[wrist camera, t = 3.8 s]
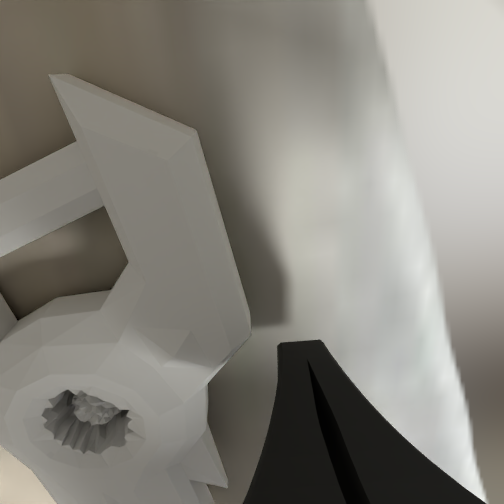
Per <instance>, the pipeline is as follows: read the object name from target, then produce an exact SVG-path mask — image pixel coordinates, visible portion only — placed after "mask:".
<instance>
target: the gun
mask: <svg viewBox="0 0 504 504" xmlns="http://www.w3.org/2000/svg"><path fill="white" fill-rule="evenodd" d="M48 76H49V78H50V80H51V83H52V85H53V87H54V90H55V92H56V94H57V97H58V99H59V101H60V104H61V106H62V108H63V111H64V113H65V115H66V118H67V120H68V122H69V125H70V127H71V129H72V131H73V134H74V136H75V138H76V142H74V143H72V144H70V145H68V146H66V147H64V148H62V149H60V150H58V151H56V152H54V153H52V154H50V155H48V156H46V157H44V158H42V159H40V160H38V161H36V162H34V163H32V164H30V165H28V166H26V167H24V168H22V169H20V170H18V171H16V172H14V173H12V174H10V175H8V176H6V177H4V178H3V179H1V180H0V257H2V256H4V255H6V254H8V253H10V252H12V251H14V250H16V249H18V248H20V247H22V246H24V245H26V244H28V243H30V242H32V241H34V240H36V239H38V238H40V237H42V236H44V235H46V234H48V233H50V232H52V231H54V230H56V229H58V228H60V227H62V226H64V225H66V224H69V223H71V222H73V221H75V220H77V219H79V218H81V217H83V216H85V215H87V214H89V213H91V212H93V211H95V210H97V209H99V208H101V207H103V206H105V208H106V210H107V213H108V215H109V217H110V220H111V222H112V224H113V227H114V229H115V231H116V234H117V236H118V238H119V241H120V243H121V245H122V248H123V250H124V252H125V255H126V257H127V259H128V261H129V262H128V264H127V265H126V267H125V268H124V270H123V272H122V273H121V275H120V277H119V278H118V280H117V281H116V283H115V285H114V286H113V288H112V289H111V290H107V291H100V292H93V293H86V294H78V295H71V296H64V297H57V298H55V299H53V300H52V301H50V302H48V303H47V304H45V305H43V306H42V307H40V308H38V309H37V310H35V311H34V312H32V313H30V314H29V315H27V316H25V317H24V318H22V319H20V320H19V321H17V319H16V318H15V316H14V314H13V313H12V311H11V309H10V308H9V306H8V305H7V303H6V301H5V300H4V298H3V297H2V295H1V293H0V446H2V447H3V448H4V449H5V450H7V451H8V452H9V453H11V454H12V455H13V456H14V457H16V458H17V459H18V460H19V461H21V462H22V463H23V464H24V465H26V466H27V467H28V468H29V469H31V470H32V471H33V473H34V474H35V475H36V476H37V478H38V479H39V480H40V482H41V483H42V484H43V486H44V487H45V488H46V490H47V491H48V492H49V494H50V495H51V496H52V498H53V499H54V500H55V501H56V503H57V504H215V502H214V500H213V497H212V495H211V493H210V491H209V489H208V487H207V485H206V484H211V485H215V486H220V487H224V488H228V479H227V476H226V473H225V470H224V467H223V465H222V462H221V459H220V456H219V453H218V451H217V448H216V445H215V442H214V439H213V437H212V434H211V431H210V428H209V425H208V423H207V413H208V382H209V381H210V380H211V379H212V378H213V377H214V376H215V375H216V374H217V372H218V371H219V370H220V369H221V368H222V367H223V366H224V365H225V364H226V362H227V361H228V360H229V359H230V358H231V357H232V356H233V355H234V354H235V352H236V351H237V350H238V349H239V348H240V347H241V346H242V345H243V344H244V342H245V341H246V340H247V339H248V338H249V337H250V336H251V317H250V311H249V307H248V304H247V300H246V297H245V294H244V290H243V287H242V283H241V280H240V277H239V273H238V270H237V266H236V263H235V260H234V256H233V253H232V249H231V246H230V242H229V239H228V236H227V232H226V229H225V225H224V222H223V219H222V215H221V212H220V208H219V205H218V202H217V198H216V195H215V191H214V188H213V185H212V181H211V178H210V174H209V171H208V167H207V164H206V161H205V157H204V154H203V150H202V147H201V144H200V140H199V137H198V133H197V130H196V129H193V128H191V127H189V126H187V125H184V124H182V123H180V122H177V121H175V120H173V119H171V118H168V117H166V116H164V115H161V114H159V113H157V112H155V111H152V110H150V109H148V108H145V107H143V106H141V105H139V104H136V103H134V102H132V101H129V100H127V99H125V98H123V97H120V96H118V95H116V94H113V93H111V92H109V91H107V90H104V89H102V88H100V87H97V86H95V85H93V84H91V83H88V82H86V81H84V80H81V79H79V78H77V77H75V76H72V75H70V74H48Z"/></svg>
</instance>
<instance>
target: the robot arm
mask: <svg viewBox="0 0 504 504" xmlns="http://www.w3.org/2000/svg"><path fill="white" fill-rule="evenodd" d="M277 357H278V383H277V390H276V397H275V402H274V407H273V411H272V416H271V421H270V425H269V429H268V433H267V436H266V440H265V443H264V447H263V450H262V453H261V456H260V459H259V462H258V465H257V468H256V471H255V474H254V477H253V479H252V482H251V485H250V488H249V490H248V493H247V495H246V497H245V500H244V502H243V504H486V503H485V502H483V501H482V500H481V499H479V498H478V497H476V496H475V495H474V494H472V493H471V492H470V491H468V490H467V489H465V488H464V487H463V486H461V485H460V484H459V483H458V482H456V481H455V480H454V479H453V478H451V477H450V476H449V475H448V474H446V473H445V472H444V471H443V470H441V469H440V468H439V467H438V466H436V465H435V464H434V463H433V462H431V461H430V460H429V459H428V458H427V457H425V456H424V455H423V454H422V453H421V452H420V451H419V450H417V449H416V448H415V447H414V446H413V445H412V444H411V443H410V442H408V441H407V440H406V439H405V438H404V437H403V436H402V435H401V434H400V433H399V432H398V431H397V430H396V429H395V428H394V427H393V426H392V425H391V424H390V423H389V422H388V421H387V420H386V419H385V418H384V417H383V416H382V415H381V414H380V413H379V412H378V411H377V410H376V409H375V408H374V407H373V405H372V404H371V403H370V402H369V401H368V400H367V399H366V398H365V397H364V395H363V394H362V393H361V392H360V391H359V389H358V388H357V387H356V386H355V385H354V383H353V382H352V381H351V380H350V379H349V377H348V376H347V375H346V374H345V372H344V371H343V370H342V368H341V367H340V366H339V365H338V363H337V362H336V360H335V359H334V358H333V356H332V355H331V354H330V352H329V351H328V349H327V348H326V346H325V345H324V343H323V342H322V341H321V340H309V341H297V342H284V343H280V344H279V345H278V346H277Z"/></svg>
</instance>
